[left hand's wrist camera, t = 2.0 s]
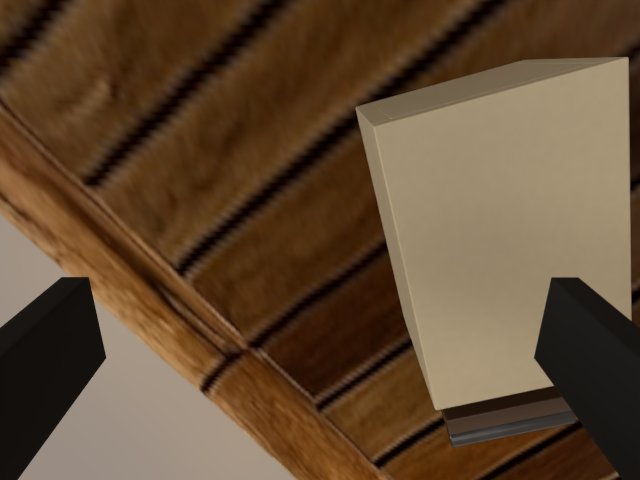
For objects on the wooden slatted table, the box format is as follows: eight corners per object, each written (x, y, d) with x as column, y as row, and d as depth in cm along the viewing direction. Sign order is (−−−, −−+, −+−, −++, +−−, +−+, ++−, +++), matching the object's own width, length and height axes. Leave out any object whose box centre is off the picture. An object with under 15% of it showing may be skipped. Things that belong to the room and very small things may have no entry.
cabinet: (545, 285, 34) (632, 369, 24) (404, 317, 35) (435, 411, 26) (524, 59, 28) (629, 56, 19) (355, 106, 29) (373, 126, 20)
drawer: (551, 385, 36) (614, 470, 29) (433, 410, 37) (463, 499, 30) (528, 131, 29) (604, 155, 21) (380, 170, 30) (401, 207, 22)
